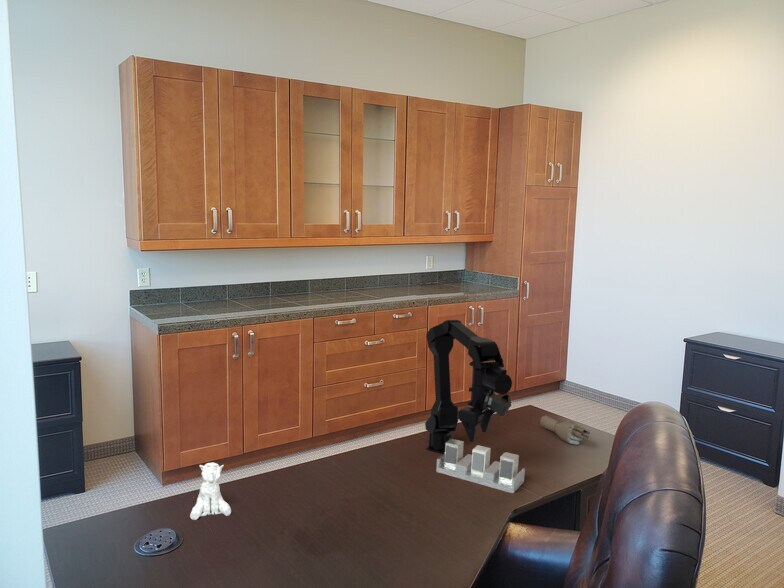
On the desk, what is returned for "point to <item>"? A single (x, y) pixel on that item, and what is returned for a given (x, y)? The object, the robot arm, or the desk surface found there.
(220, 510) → the seated beast figurine
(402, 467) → the desk surface
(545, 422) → the mannequin hand
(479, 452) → the white rectangular block
